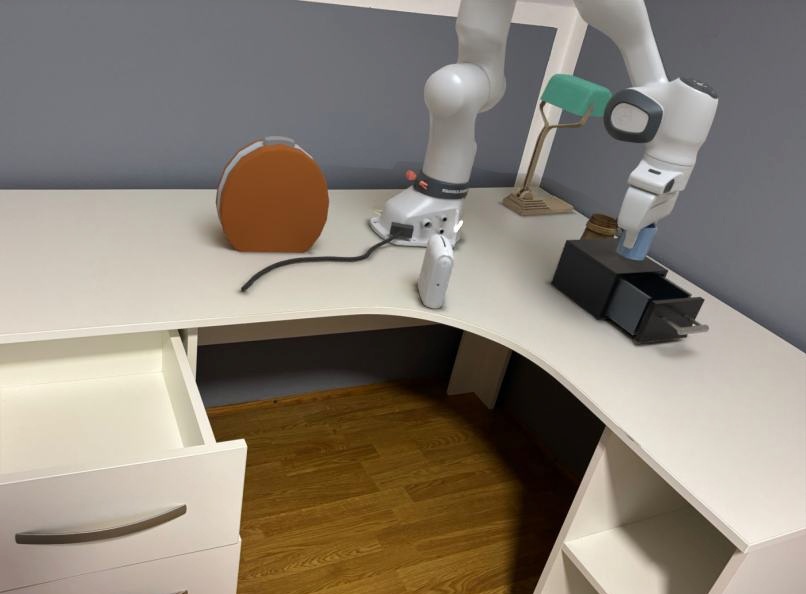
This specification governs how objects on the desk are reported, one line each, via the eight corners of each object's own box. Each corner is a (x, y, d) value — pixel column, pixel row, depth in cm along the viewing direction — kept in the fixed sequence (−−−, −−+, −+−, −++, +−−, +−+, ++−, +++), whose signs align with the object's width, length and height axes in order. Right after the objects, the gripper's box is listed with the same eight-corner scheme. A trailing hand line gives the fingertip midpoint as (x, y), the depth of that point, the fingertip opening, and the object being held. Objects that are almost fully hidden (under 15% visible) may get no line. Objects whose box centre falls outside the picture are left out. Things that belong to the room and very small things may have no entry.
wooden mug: (628, 277, 166) (658, 205, 156) (571, 263, 167) (597, 191, 158) (623, 262, 173) (652, 193, 164) (569, 249, 175) (594, 180, 165)
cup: (611, 251, 136) (623, 220, 132) (622, 245, 139) (634, 215, 136) (638, 262, 133) (651, 231, 129) (649, 256, 137) (662, 225, 133)
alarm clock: (310, 233, 157) (325, 132, 145) (322, 252, 149) (339, 148, 137) (211, 230, 149) (218, 124, 137) (218, 251, 141) (226, 140, 130)
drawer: (707, 352, 137) (727, 313, 132) (659, 359, 131) (678, 319, 127) (635, 302, 152) (651, 265, 147) (588, 306, 146) (603, 268, 142)
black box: (648, 314, 150) (668, 270, 144) (597, 319, 143) (616, 273, 138) (599, 280, 161) (616, 238, 156) (550, 283, 155) (566, 239, 150)
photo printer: (443, 310, 136) (459, 252, 129) (422, 307, 135) (437, 249, 129) (435, 285, 144) (449, 230, 138) (415, 283, 144) (428, 227, 137)
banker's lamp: (493, 198, 199) (530, 70, 181) (546, 196, 209) (586, 74, 191) (530, 221, 188) (573, 87, 170) (584, 217, 198) (630, 90, 180)
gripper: (665, 161, 136) (639, 227, 144) (626, 175, 122) (598, 247, 129) (697, 171, 133) (668, 238, 140) (661, 187, 119) (630, 261, 126)
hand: (634, 243), depth 135 cm, fingers closed on cup, 5 cm apart
